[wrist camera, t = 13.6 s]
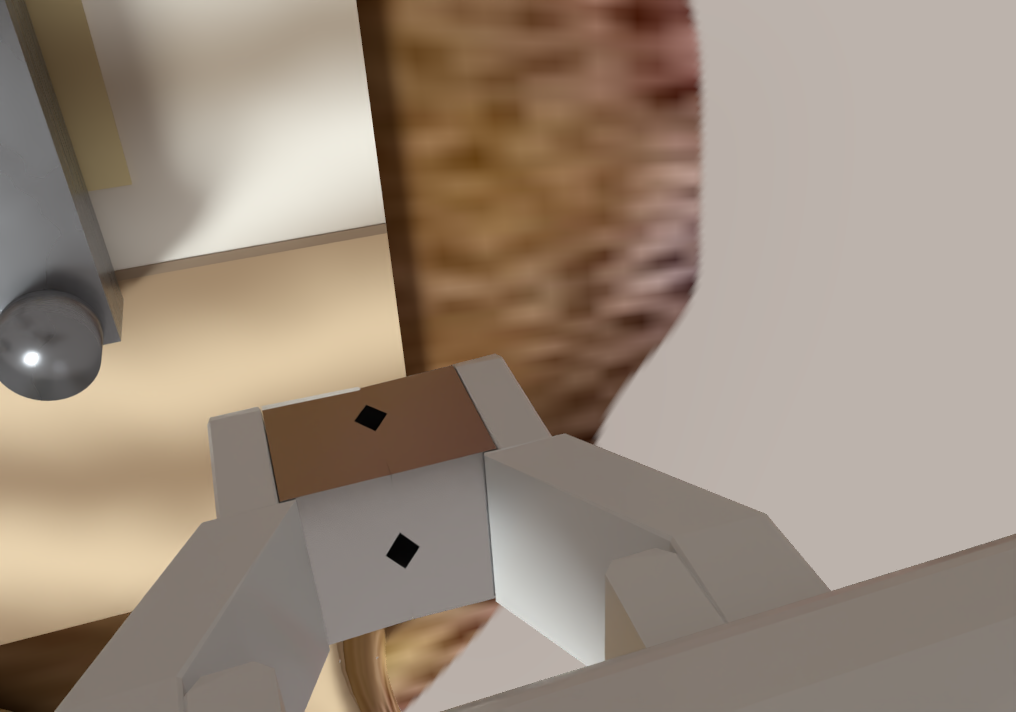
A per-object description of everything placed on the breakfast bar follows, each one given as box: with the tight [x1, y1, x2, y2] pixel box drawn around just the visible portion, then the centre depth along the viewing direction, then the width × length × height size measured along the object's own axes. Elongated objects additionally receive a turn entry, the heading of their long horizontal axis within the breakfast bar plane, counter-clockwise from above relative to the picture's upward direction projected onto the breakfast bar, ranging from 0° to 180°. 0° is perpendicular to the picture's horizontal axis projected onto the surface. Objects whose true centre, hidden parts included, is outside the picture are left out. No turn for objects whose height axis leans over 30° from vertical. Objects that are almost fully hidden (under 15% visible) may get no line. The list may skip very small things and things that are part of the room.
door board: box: [0, 0, 406, 645], centre depth 25 cm, size 24×18×4 cm
